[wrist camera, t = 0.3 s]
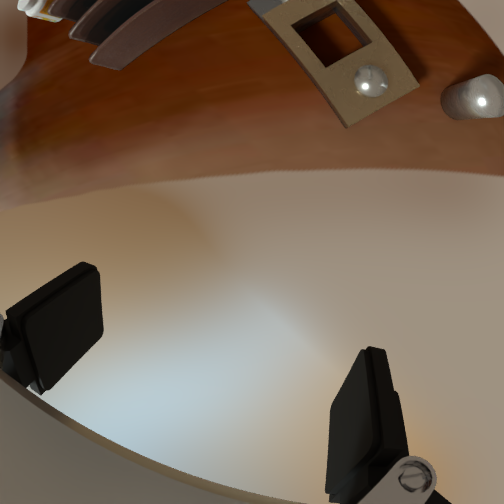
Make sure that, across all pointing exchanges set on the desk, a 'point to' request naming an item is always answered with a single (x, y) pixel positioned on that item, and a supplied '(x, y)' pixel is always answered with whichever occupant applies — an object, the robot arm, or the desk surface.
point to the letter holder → (126, 24)
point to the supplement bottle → (37, 9)
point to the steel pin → (474, 98)
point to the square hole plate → (350, 67)
